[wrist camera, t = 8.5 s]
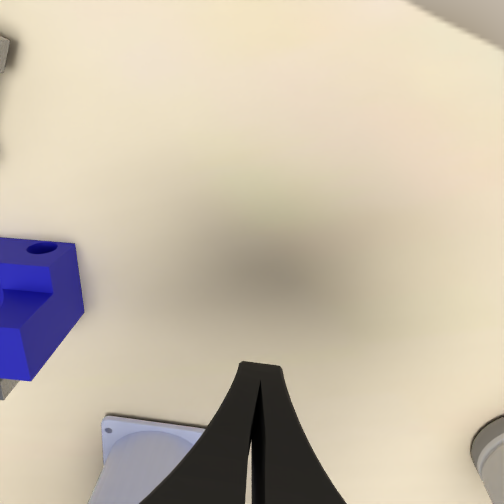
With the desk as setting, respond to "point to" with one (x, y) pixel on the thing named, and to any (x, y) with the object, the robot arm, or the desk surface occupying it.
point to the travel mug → (491, 459)
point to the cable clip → (35, 303)
